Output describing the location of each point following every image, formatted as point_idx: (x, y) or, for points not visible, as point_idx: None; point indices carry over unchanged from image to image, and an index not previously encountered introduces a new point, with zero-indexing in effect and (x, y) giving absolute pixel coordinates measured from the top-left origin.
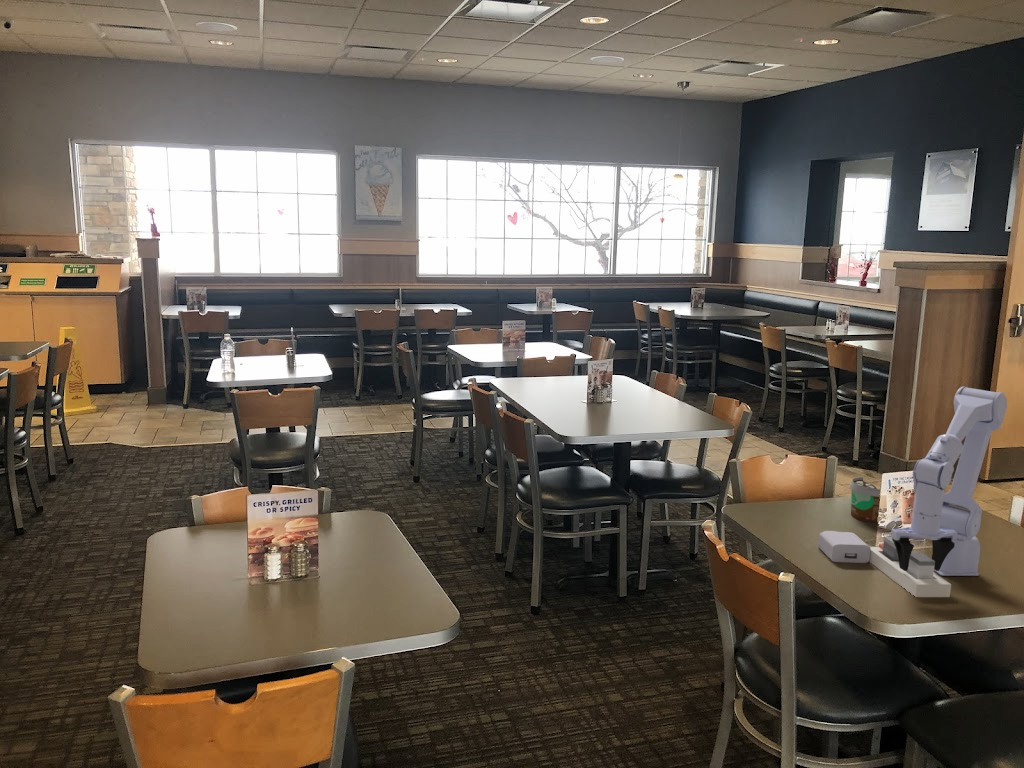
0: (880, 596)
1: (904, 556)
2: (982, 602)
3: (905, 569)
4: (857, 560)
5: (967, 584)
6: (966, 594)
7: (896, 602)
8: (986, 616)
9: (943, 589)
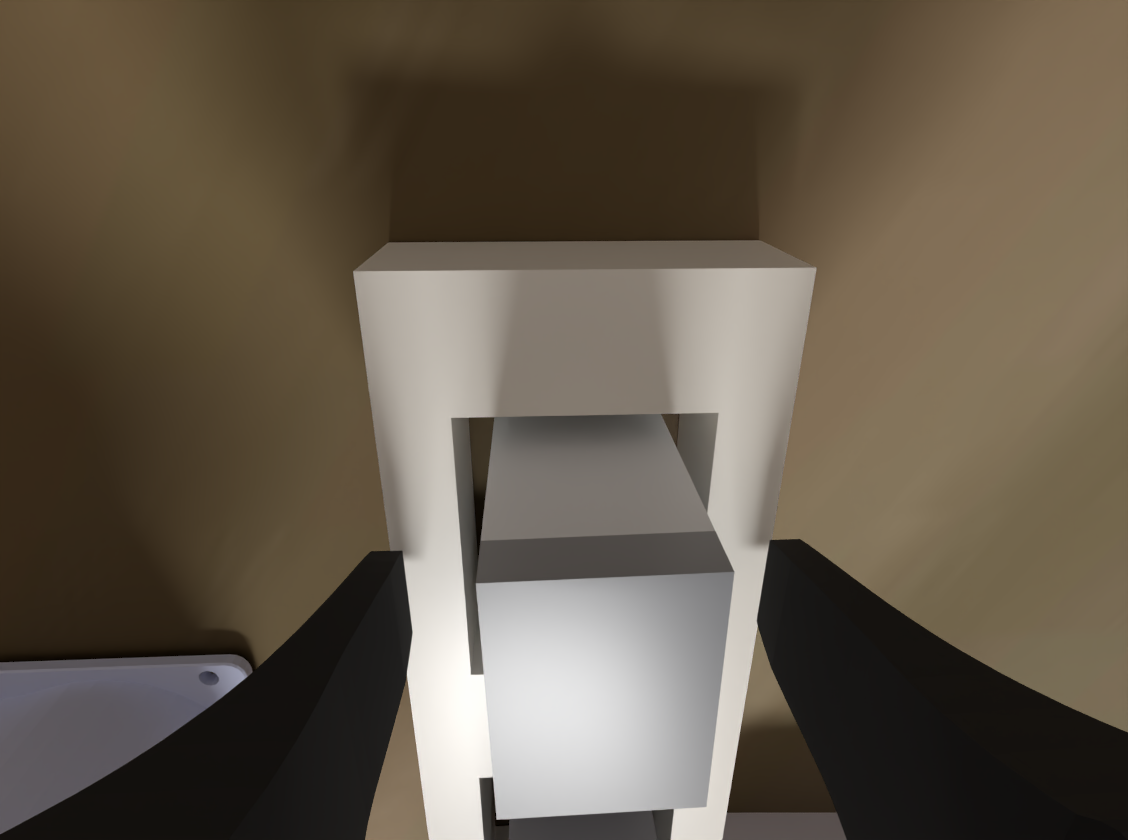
0: (1091, 261)
1: (966, 659)
2: (57, 102)
3: (804, 546)
4: (791, 827)
5: (68, 519)
6: (167, 309)
7: (1047, 115)
8: None
9: (458, 258)
